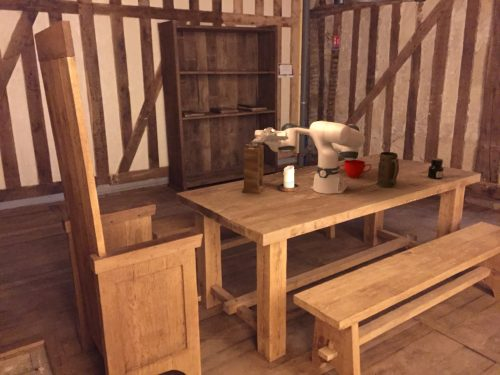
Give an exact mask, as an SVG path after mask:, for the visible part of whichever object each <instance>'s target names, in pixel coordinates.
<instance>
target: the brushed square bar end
mask: <svg viewBox="0 0 500 375" xmlns="http://www.w3.org/2000/svg"><path fill="white" fill-rule="evenodd" d="M265 129H266V130H264V129H263V130H264V131H263V132H262V133H261V134H260V135H259V136H258V137H255V138H254V139H253V140H251V141H252V145H253V146H255V145H258V146H259V142H263V141H264V140H265V139H266V138H267V137H268V136H270V135H271V134H272V129H274V128H273V127H270V126H269V127H267V128H265Z"/></svg>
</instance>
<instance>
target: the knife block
mask: <svg viewBox="0 0 500 375" xmlns="http://www.w3.org/2000/svg"><path fill="white" fill-rule="evenodd" d="M252 141H253V140H251V141H250V142H249V143H247V144H245V147H244V148H243V189H242V190H241V193H243V194H253V195H255V194H256V195H260V194H261V193H262V191H263V190H265V187H266V186H265V185H264V164H265V163H264V162H265V160H264V155H265V154H264V150H265V149H264V147H265V144H264V145H263V143H262V142H259V146H258V145H255V146H253V145H252Z"/></svg>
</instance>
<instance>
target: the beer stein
mask: <svg viewBox="0 0 500 375" xmlns="http://www.w3.org/2000/svg"><path fill="white" fill-rule="evenodd" d="M377 167H378V168H377V173H376V174H377V176H376V177H377V180H376V181H377V182H376V186H378V187H380V188H386V189H392V188H395V187H396V184H397V178H398V175H399V172H400V171H399V170H400V164H399V159H398V153H396V152H392V151H381V152H380V154H379V161H378V166H377Z"/></svg>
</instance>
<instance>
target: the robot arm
mask: <svg viewBox="0 0 500 375" xmlns="http://www.w3.org/2000/svg"><path fill="white" fill-rule="evenodd" d="M266 129H267V128H264V129H261V130H260V129H256V130H255V131H254V137H255V138H256V137H258V136H259V135H260V134H261V133H262V132H263V131H264V130H266ZM297 134H300V135H304V136H305V135H306V136H309V137H311V139H312V140H313V144H314V146H315V148H316V150H317V166H316V173H315V174H314V179H313V185H311V187H310V188H311V189H313V190H314V192H316V193H319V194H328V195H329V194H342V193H344V191H345V190H346V189H347V188H348V186H347V184H344V177H343V175H341V174H340V169H341V165H339V156H340V157H341V158H342V159H343V160H344V161H345V160H357V158H358V157H359V150H360V148H361V147H363V146H364V144H365V142H366V137H365V135H364V133H362V132H361V130H360V127H358V125H356V124H352V123H351V124H347V125H346V124H345V123H339V122H332V121H325V120H319V121H318V120H317V121H313V122H312V123H311V124H310V126H309V127H307V126H303V125H302V126H301V125H297V124H293V123H290V122H289V123H285V124H283V125H282V126H281V129H280V130H276V129H274V128H273V129H272V134H271V135H270V136H268V137H267V138H266V139H265V140H264V141H263V142H262V144H264V145H267V146H268V147H269V149H270V150H271V151H272V152H274V153H279V152H280V153H285V154H287V153H292V152H293V151H295V149H296V146H297V145H296V144H297Z"/></svg>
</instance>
